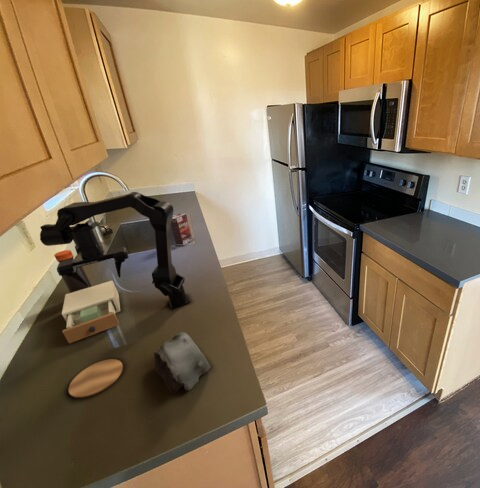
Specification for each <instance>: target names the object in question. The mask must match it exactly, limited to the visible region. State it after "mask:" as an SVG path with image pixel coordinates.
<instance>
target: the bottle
mask: <svg viewBox="0 0 480 488" xmlns="http://www.w3.org/2000/svg"><path fill="white" fill-rule="evenodd" d="M53 257H54V258H55V260H56V261H57V262H58V264H59V263H60V262H62V261H66V260H71V259H73V260H74V261H75V262H77V261H79V260H78V259H76V258H74V254H73V252H72V250H71V249H65V250H61V251H58V252H56V253H55V254H53ZM57 267H58V265H57ZM57 267H56V268H57ZM79 269H80V271H81V273H82V274H83V276H84V277H85V279H86V281H87V282H88V285H89V286H88V287H87V286H85V285H84V284H82V283H81V282H80V281H78V280H76V279H74V278H73V277H71V276H68V277H66V275H63V276H61V278H62V280H63V282H64V284H65V286H66V287H67V290H68V291H69V293H72V292H75V291H79V290H82V289H85V288H89V287H92V286H93V285H92V284H91V281H90V280H89V277H88V275H87V273H86V271H85V269H84V266H81V267H79Z"/></svg>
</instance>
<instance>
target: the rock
mask: <svg viewBox="0 0 480 488" xmlns="http://www.w3.org/2000/svg"><path fill="white" fill-rule="evenodd" d="M153 358H154V369H155V372H156V373H157V375H158V376H159V377H161V378H162V379H163V382H164V385H165V386H166V388H167V390H168V391H169V392H170V394H173V395H174V394H176V393H177V392H178V391H179V389H181V388H184V390H185V391H191V390H192V389H193V388H194V386H195V385H196V384H197V383H198V382H200V377H201V376H202V375H204V374H205V373H207V372H208V371H209V370H211V369H212V366H211V365H210V363H209V361H208V360H207V358H206V357H205V355H204V353H203V352H202V350H200V349H199V346H198V345H197V344H196V343H195V342H194V340H193V339H192V338H191V336H190V335H189V334H188V333H187V332H183V331H181V332H177V333H176V334H174V336H173V337H172V338H170V339H168V340H166V341H164V342H162V344H161V345H160V346H159V349H156V350H155V351H154V354H153Z"/></svg>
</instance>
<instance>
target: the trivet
mask: <svg viewBox="0 0 480 488" xmlns="http://www.w3.org/2000/svg"><path fill="white" fill-rule="evenodd" d="M123 365H124V364H123V362H121V360H118V359H115V358H109V359H104V360H101V361H98V362H95V363H92V364H91V365H89V366H87V367H86V368H84V369H83V370H82V371H80V372H79V373H78V374H77V375H76V376H75V377H74V378H73V379H72V381H71V382H70V383H69V386H68V394H69V395H70V396H71V397H72V398H74V399H85V398H89V397H93V396H95V395H97V394H99V393H101V392H103V391H105V390H106V389H107V388H109V387H110V386H111V385H113V384H114V383H115V382H116V381H117V380H118V379H119V378H120V376H121V374H122V373H123V370H124V366H123Z"/></svg>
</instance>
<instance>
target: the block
mask: <svg viewBox="0 0 480 488" xmlns="http://www.w3.org/2000/svg"><path fill="white" fill-rule="evenodd" d="M101 316H102V315H101V313H100V311H99V309H98V307H97V306H94V307H91V308H88V309H85V310H82V311H81V313H80V319H81V321H82V322H83V323H84V322H87V321H90V320H93V319H96V318H99V317H101Z"/></svg>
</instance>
